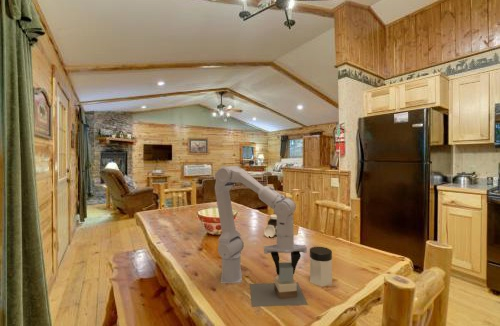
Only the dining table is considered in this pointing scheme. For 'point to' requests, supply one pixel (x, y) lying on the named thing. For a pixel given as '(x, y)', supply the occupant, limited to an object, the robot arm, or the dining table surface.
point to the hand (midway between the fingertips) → (285, 273)
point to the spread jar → (271, 226)
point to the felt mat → (273, 296)
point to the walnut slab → (285, 293)
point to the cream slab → (285, 285)
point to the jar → (320, 266)
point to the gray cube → (285, 272)
